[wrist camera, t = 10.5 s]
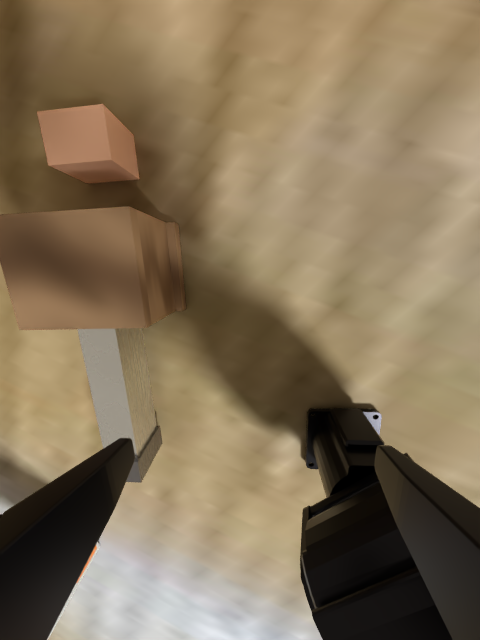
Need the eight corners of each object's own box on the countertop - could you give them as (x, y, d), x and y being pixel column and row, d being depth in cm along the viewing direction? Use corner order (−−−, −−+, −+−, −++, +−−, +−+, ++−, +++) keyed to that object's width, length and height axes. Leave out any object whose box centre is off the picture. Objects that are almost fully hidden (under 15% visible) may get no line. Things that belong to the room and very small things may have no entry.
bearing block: (186, 308, 20) (156, 327, 14) (80, 311, 21) (10, 330, 15) (178, 224, 19) (140, 205, 13) (64, 230, 19) (-23, 215, 13)
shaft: (162, 443, 23) (141, 482, 19) (131, 442, 23) (104, 480, 19) (135, 254, 18) (100, 252, 14) (97, 256, 19) (53, 254, 15)
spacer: (111, 159, 15) (102, 103, 14) (48, 165, 15) (36, 111, 14) (140, 179, 18) (134, 135, 17) (88, 183, 19) (80, 141, 18)
